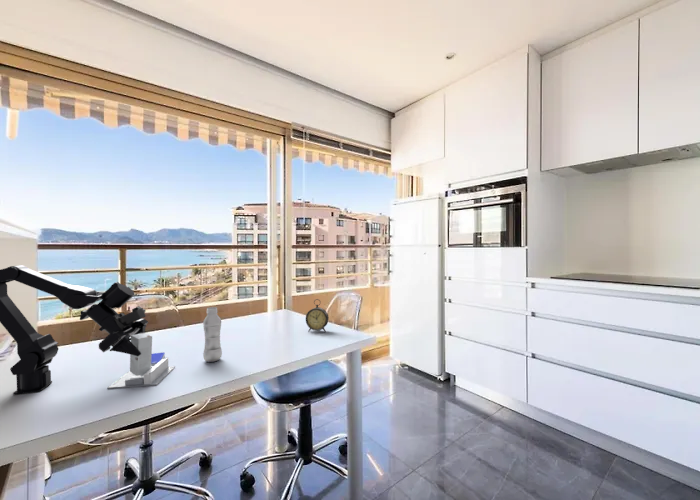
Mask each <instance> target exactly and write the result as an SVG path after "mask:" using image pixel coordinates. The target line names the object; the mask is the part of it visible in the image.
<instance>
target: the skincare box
mask: <svg viewBox="0 0 700 500" xmlns="http://www.w3.org/2000/svg"><path fill="white" fill-rule="evenodd" d="M130 338H131V340H130V341H131V342H132V343H133V345H134V346H135V347H136V348H137V349H138V350H139V351H140V352H141V355H140V356H135V355H131V354H129V356H130V357H129V371H130V372H131V373H133V374H134V375H136V376H139V375H143V374H145V373H147V372H148V371H149V370H150V369H151V356H152V354H153V351H152V350H153V336H152V335H150V334H149V333H146V332H145V333H140V334H135V335H131V337H130Z"/></svg>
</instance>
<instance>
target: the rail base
mask: <svg viewBox="0 0 700 500" xmlns="http://www.w3.org/2000/svg"><path fill="white" fill-rule="evenodd" d="M175 368H176V366H175V365H173V366H169V357H166V358H163V359H162V360H161V361H159V362H158V363H157V364H156V365H155V366H151V369H150V370H149V371H148V372H147V373H145V374H143V375H139V376H136V375H134V374H133V373H131V372H130V370H129V371H127V372H126V373H125V374H123V375H122V376H121V377H119V378H118V379H117V380H116V381H114V382H113V383H111V384H110V385H109V386H108V387H107V389H108V390H110V389H112V390H113V389H125V388H140V387H154V386H155V387H156V386H158V385H160V383H161V382H162V381H163V380H164V379H165V378H166V377H167V376H168V375H169V374H170V373H171V372H172V371H173V370H174V369H175Z"/></svg>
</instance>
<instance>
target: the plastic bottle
mask: <svg viewBox="0 0 700 500" xmlns="http://www.w3.org/2000/svg"><path fill="white" fill-rule="evenodd" d="M202 325H203V331H204V348H203V353H202V354H203V359H204V361H205V362H209V363H212V362H216V361H219V360H221V358H222V356H223V351H222V350H223V349H222V347H221V345H222V343H221V329H222V319H221V317H220V316H219V315H218V307H216V306H212V307H211V306H210V307H207V308H206V316H205V318H204V319H203V322H202Z"/></svg>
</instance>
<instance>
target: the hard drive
mask: <svg viewBox="0 0 700 500" xmlns="http://www.w3.org/2000/svg"><path fill="white" fill-rule="evenodd" d="M165 355H166V354H165V352H163V351H162V352H156V353H154V352H153V353H152V356H151V366H155V365H156V364H157V363H158V362H159V361H161V360H162V359H165Z"/></svg>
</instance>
